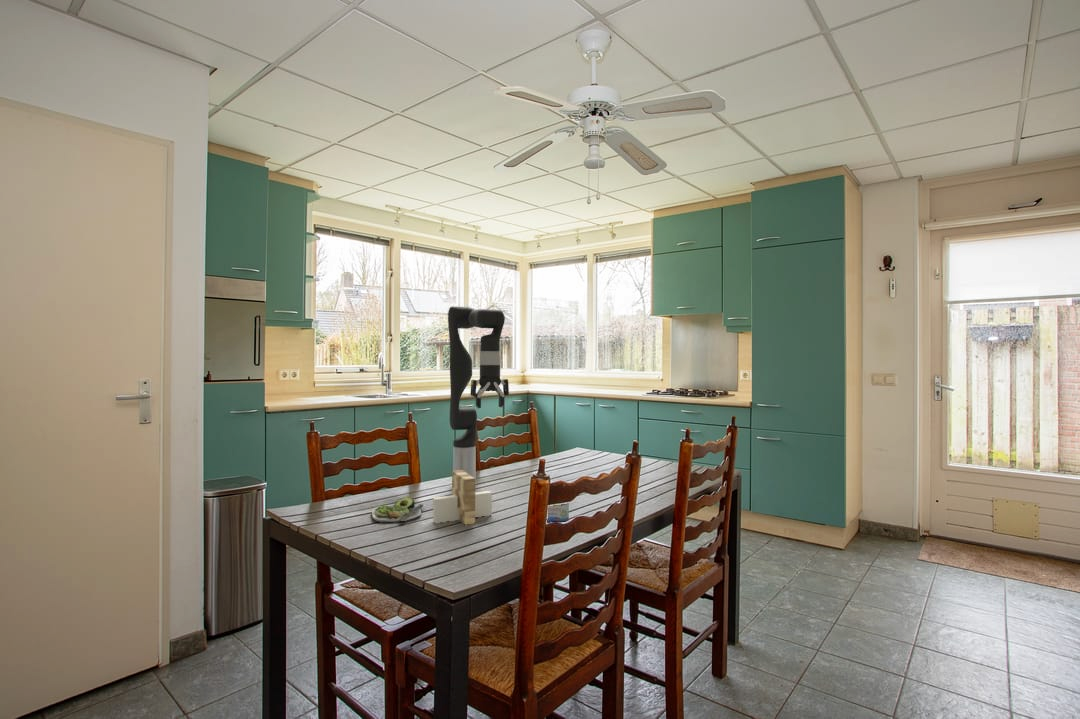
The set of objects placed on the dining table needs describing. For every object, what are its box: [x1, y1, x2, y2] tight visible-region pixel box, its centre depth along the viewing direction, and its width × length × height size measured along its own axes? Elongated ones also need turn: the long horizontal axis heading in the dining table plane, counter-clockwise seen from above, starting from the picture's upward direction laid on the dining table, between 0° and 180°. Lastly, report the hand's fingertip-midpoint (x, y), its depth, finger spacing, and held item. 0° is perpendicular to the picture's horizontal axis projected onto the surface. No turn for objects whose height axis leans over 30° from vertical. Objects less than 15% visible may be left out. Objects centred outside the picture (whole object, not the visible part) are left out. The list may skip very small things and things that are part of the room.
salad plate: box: [371, 497, 424, 523], centre depth 187 cm, size 19×18×5 cm
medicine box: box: [546, 502, 570, 523], centre depth 184 cm, size 8×4×9 cm, turn 99°
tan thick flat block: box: [451, 470, 476, 526], centre depth 185 cm, size 14×4×15 cm, turn 27°
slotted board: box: [432, 490, 493, 524], centre depth 185 cm, size 2×20×8 cm, turn 117°
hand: (489, 407), depth 200 cm, fingers open, 8 cm apart
